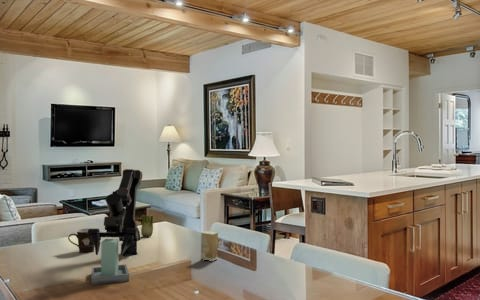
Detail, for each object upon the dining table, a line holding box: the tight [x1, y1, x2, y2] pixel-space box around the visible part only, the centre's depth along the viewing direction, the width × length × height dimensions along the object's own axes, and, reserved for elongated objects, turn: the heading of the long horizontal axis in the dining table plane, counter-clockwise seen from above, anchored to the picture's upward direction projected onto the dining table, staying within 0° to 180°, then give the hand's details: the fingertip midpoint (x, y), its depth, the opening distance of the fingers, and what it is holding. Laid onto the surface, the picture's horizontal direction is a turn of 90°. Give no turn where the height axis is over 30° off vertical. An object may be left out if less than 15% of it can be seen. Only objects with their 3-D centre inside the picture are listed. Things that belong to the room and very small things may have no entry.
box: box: [91, 263, 130, 286], centre depth 152 cm, size 13×13×2 cm
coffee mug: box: [67, 227, 95, 254], centre depth 189 cm, size 12×9×10 cm
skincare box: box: [200, 230, 219, 261], centre depth 176 cm, size 6×4×12 cm
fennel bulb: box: [140, 214, 154, 238], centre depth 220 cm, size 6×5×12 cm
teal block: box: [100, 238, 119, 276], centre depth 152 cm, size 5×5×13 cm
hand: (108, 254), depth 151 cm, fingers open, 9 cm apart
